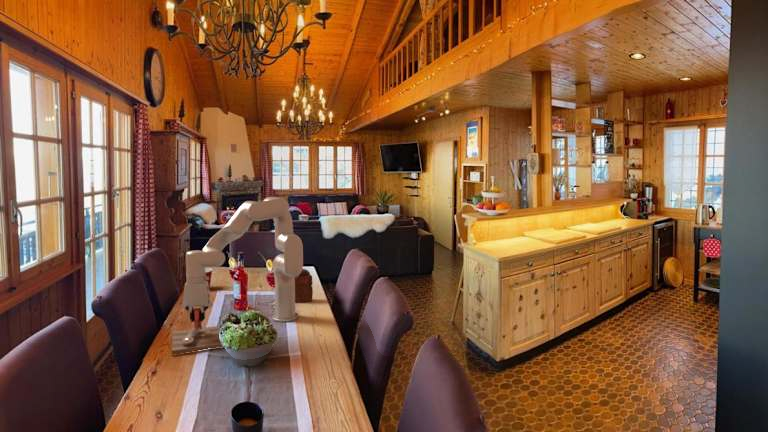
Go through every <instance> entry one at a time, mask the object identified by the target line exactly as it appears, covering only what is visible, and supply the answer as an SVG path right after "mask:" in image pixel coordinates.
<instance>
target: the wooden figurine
mask: <svg viewBox="0 0 768 432" xmlns="http://www.w3.org/2000/svg"><path fill="white" fill-rule="evenodd" d="M294 278H295V303H308V302H309V303H310V302H311V303H312V301H313V297H314V296H313V293H314V291H313V286H312V285H313V275H312V274H311V272H310V271H309V270H307V269H305V268H302V271H301V273H300V274H299V275H298V276H296V277H294Z"/></svg>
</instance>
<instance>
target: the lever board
mask: <svg viewBox="0 0 768 432" xmlns="http://www.w3.org/2000/svg"><path fill="white" fill-rule="evenodd" d="M219 329H220V330H221V328H220V325H216V326H209V327H202V329H201V330H200V331H199V333H198V334H197V335H196V337H195V338H194V344H192V345H188V346H185V345H183V338H185V337H187V335H188V334H189V333H190V332H191V330H192V329H185V330H177V331H172V343H171V356H172V355H174V354H180V353H186V352H192V351H198V350H203V349H208V348H216V347H222V345H221V342H220V340H219ZM174 356H175V355H174Z"/></svg>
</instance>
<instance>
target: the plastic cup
mask: <svg viewBox="0 0 768 432" xmlns="http://www.w3.org/2000/svg"><path fill="white" fill-rule="evenodd" d="M213 270H214V269H213V267H205V275H206V276H207V277H209V280H206V281H208V285H209V289H210V287H211V282H212V274H213Z"/></svg>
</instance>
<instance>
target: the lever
mask: <svg viewBox="0 0 768 432" xmlns="http://www.w3.org/2000/svg"><path fill="white" fill-rule="evenodd" d="M193 313H194V321H193V328H192V329H190V330H191V332H190V333H189V334H188V335H187V337H185V338H183V345H185V346H188V345H192V344H194V338H195V337H196V335H197V334H198V333H199V331H200V330H201V329H202V328H203V327H202V322H200V313H201V308H200V307H194V309H193Z"/></svg>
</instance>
